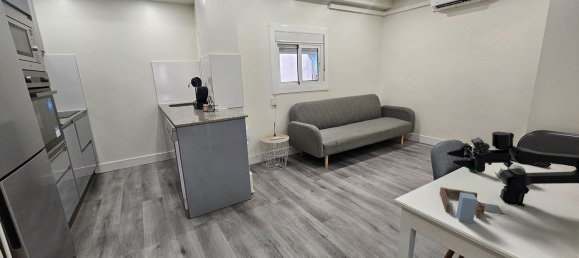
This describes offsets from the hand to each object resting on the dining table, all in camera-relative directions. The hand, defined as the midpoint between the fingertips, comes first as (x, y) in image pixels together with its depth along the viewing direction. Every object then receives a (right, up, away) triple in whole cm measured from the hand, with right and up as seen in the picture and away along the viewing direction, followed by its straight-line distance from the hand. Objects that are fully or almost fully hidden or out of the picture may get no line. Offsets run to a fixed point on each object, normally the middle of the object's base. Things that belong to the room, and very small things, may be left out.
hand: (450, 157), depth 108 cm
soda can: (+32, -11, +27) cm, 43 cm away
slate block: (-5, -22, -16) cm, 28 cm away
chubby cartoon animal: (+42, -14, +16) cm, 47 cm away
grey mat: (+11, -20, -9) cm, 25 cm away
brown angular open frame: (+1, -20, -7) cm, 21 cm away
